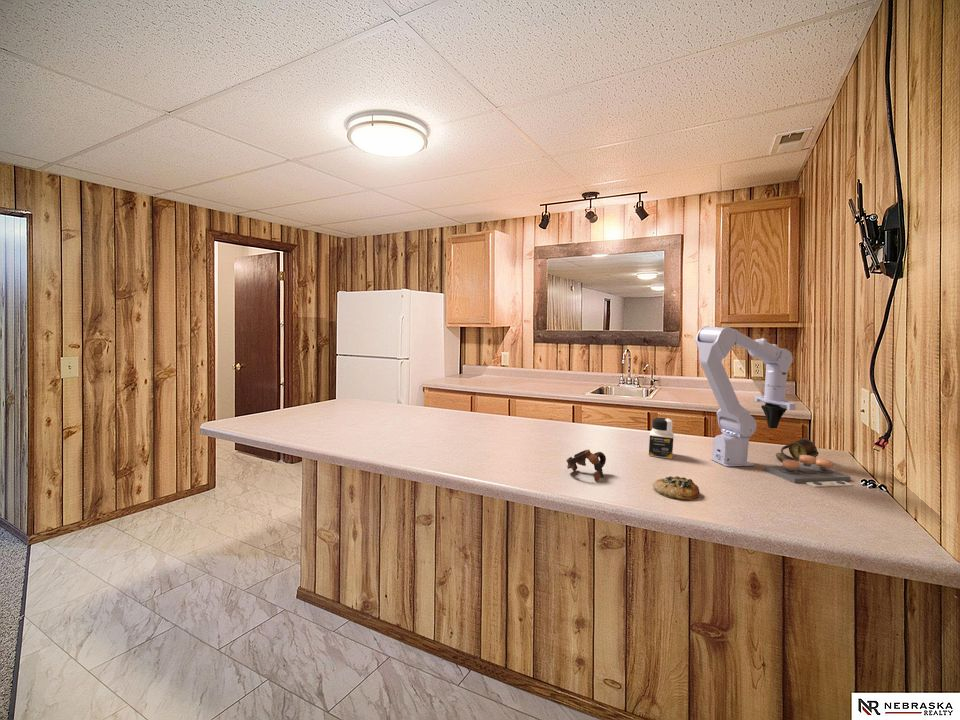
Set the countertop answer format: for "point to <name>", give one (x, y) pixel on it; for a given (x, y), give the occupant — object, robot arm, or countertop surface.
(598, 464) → the brown jointed linkage
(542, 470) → the countertop surface
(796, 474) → the board
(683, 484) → the bread roll
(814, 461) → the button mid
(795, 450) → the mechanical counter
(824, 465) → the button
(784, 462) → the button
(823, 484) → the card
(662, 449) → the medicine bottle
